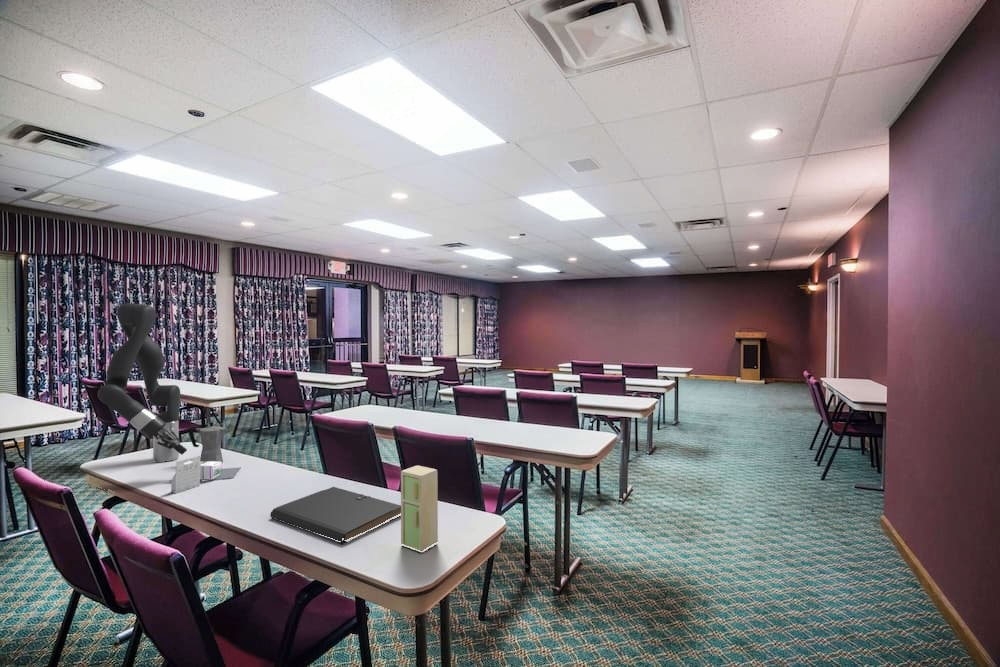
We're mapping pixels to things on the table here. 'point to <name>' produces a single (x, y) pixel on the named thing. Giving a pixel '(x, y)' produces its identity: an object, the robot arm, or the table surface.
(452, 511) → the table surface
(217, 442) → the coffeepot
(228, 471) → the mat
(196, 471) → the ink box
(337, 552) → the table surface
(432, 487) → the toy refrigerator
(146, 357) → the robot arm
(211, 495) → the table surface
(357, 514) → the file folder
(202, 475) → the syrup box
